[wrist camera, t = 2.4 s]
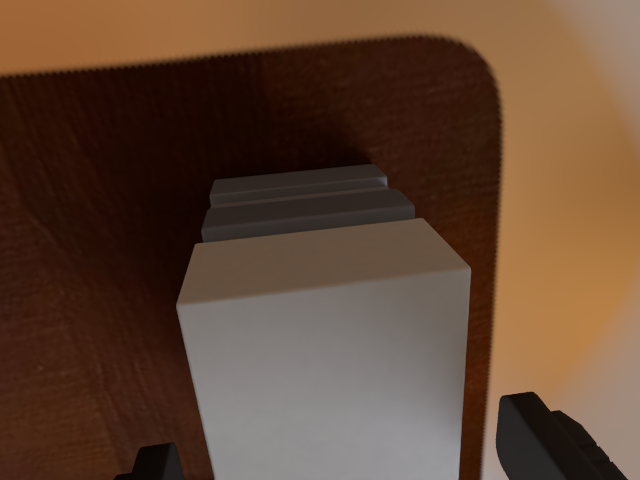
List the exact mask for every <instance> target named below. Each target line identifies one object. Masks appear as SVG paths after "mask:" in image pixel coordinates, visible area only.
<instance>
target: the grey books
mask: <svg viewBox="0 0 640 480" xmlns="http://www.w3.org/2000/svg"><path fill="white" fill-rule="evenodd" d="M209 197H210V202H211V208H210V209H208V210H207V213H206V216H205V220H204V223H203V226H202V230H201V233H202V238H203V243H207V242H216V241H225V240H234V239H242V238H251V237H260V236H269V235H278V234H287V233H295V232H304V231H313V230H322V229H331V228H340V227H348V226H357V225H366V224H375V223H384V222H393V221H401V220H410V219H414V212H415V207H414V205H413V204H412V203H411V202H410V201H409V200H408V199H407V198H406V197H405V196H404V195H403V194H402V193H401V192H400V191H399V190H398V189H389V188H388V187H387V177H386V175H385V174H384V173H383V172H382V171H381V170H380V169H379V168H378V167H377V166H376V165H375V164H366V165H356V166H346V167H336V168H326V169H317V170H307V171H297V172H287V173H277V174H268V175H258V176H248V177H238V178H228V179H219V180H214V183H213V186H212V189H211V192H210V196H209Z"/></svg>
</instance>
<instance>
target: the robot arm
mask: <svg viewBox="0 0 640 480" xmlns="http://www.w3.org/2000/svg"><path fill="white" fill-rule="evenodd" d="M496 449H497V454H498V457H499V460H500V463H501V465H502V468H503V470H504V471H505V473H506V475H507V476H508V478H509V480H628V479H627V478H626V477H625V476H624V475H623V473H622V472H621V471H620V470H619V469H618V468H617V466H616V465H615V464H614V463H613V462H610V460H609V457H608V456H607V455H606V454H605V452H604V451H603V450H602V449H601V448H600V447H598V446H597V445H596V442H595V441H594V440H593V438H592V437H591V436H590V435H589V434H588V432H587V431H586V430H585V429H584V428H583V427H582V425H581V424H579V423H578V422H576V421H575V420H573V419H572V418H570V417H569V416H567V415H566V414H564V413H563V412H561V411H560V410H558V411H550V410H549V409H548V408H547V407H546V405H545V404H544V403H543V401H542V400H541V399H540V398H539V397H538V395H536V394H535V393H534V392H526V393H518V394H512V395H505V396H502V397H501V398H500V402H499V412H498V423H497V433H496ZM114 480H185V479H184V475H183V471H182V467H181V463H180V459H179V455H178V452H177V448H176V445H175V443H166V444H159V445H152V446H146V447H141V448H140V449H139V451H138V454H137V457H136V460H135V464H134V467H133V470H132V473H128V474H121V475H117V476H116V477H115V478H114Z"/></svg>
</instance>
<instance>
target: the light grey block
mask: <svg viewBox="0 0 640 480" xmlns="http://www.w3.org/2000/svg"><path fill="white" fill-rule="evenodd" d="M470 278H471V268H470V267H469V266H468V265H467V264H466V263H465V261H464V260H463V259H462V258H461V257H460V256H459V255H458V254H457V253H456V252H455V251H454V250H453V249H452V248H451V247H450V246H449V245H448V244H447V243H446V242H445V241H444V240H443V239H442V238H441V237H440V236H439V235H438V233H437V232H436V231H435V230H434V229H433V228H432V227H431V226H430V225H429V224H428V223H427V222H426V221H425V220H424V219H422V218H419V219H410V220H401V221H393V222H384V223H375V224H366V225H357V226H348V227H340V228H331V229H322V230H313V231H304V232H295V233H287V234H278V235H269V236H260V237H251V238H242V239H234V240H225V241H216V242H207V243H198V244H195V246H194V249H193V253H192V256H191V259H190V262H189V265H188V269H187V272H186V275H185V278H184V281H183V285H182V288H181V291H180V294H179V297H178V301H177V304H176V308H177V313H178V317H179V322H180V326H181V331H182V335H183V340H184V344H185V349H186V353H187V358H188V362H189V367H190V371H191V376H192V380H193V385H194V389H195V394H196V398H197V403H198V407H199V412H200V416H201V421H202V425H203V430H204V435H205V439H206V444H207V448H208V453H209V457H210V462H211V466H212V471H213V475H214V480H458V477H459V460H460V444H461V427H462V411H463V394H464V378H465V361H466V344H467V328H468V311H469V295H470Z"/></svg>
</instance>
